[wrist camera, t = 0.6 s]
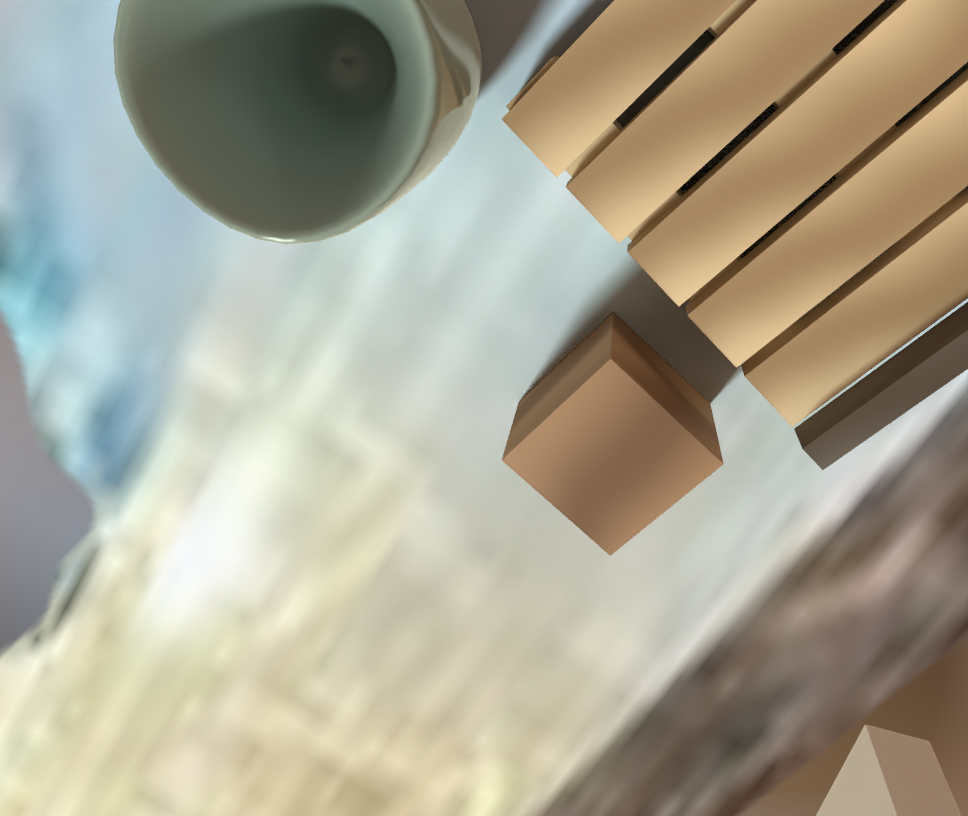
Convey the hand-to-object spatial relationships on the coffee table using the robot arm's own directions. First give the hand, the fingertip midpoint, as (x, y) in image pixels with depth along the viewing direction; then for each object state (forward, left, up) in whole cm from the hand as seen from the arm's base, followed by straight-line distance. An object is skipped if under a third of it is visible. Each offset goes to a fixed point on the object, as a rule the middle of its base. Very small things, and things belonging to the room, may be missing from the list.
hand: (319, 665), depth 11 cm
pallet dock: (+3, +10, -22) cm, 24 cm away
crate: (+6, -1, -22) cm, 23 cm away
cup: (-8, +1, -22) cm, 24 cm away
